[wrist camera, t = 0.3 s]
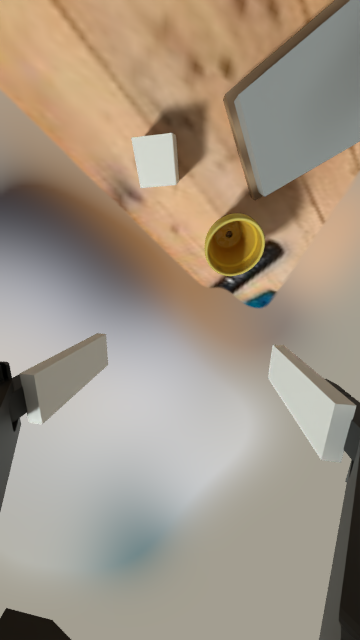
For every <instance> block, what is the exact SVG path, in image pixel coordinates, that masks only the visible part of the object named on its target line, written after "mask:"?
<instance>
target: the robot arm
mask: <svg viewBox="0 0 360 640" xmlns="http://www.w3.org/2000/svg"><path fill="white" fill-rule="evenodd" d="M107 359H108V357H107V345H106V334H98V333H97V334H95V335H93V336H91V337H89V338H87V339H86V340H84V341H82V342H80V343H78V344H76V345H74V346H72V347H70V348H68V349H66V350H64V351H62V352H61V353H59V354H57V355H55V356H53V357H51V358H49V359H47V360H45V361H43V362H41V363H39V364H37V365H35V366H34V367H31V368H30V369H28V370H26V371H24V372H22V373H20V374H19V375H17V376H15V377H13V378H12V376H11V371H10V366H9V363H8V362H0V510H1V506H2V502H3V498H4V494H5V489H6V485H7V481H8V477H9V472H10V468H11V464H12V460H13V455H14V452H15V447H16V443H17V439H18V434H19V431H20V426H21V422H20V417H21V416H23V415H24V414H25V413H27V416H28V421H29V423H37V424H43V423H44V422H45V421H46V420H48V419H49V418H50V417H51V416H52V415H53V414H54V413H55V412H56V411H57V410H58V409H60V408H61V407H62V406H63V405H64V404H65V403H66V402H67V401H69V400H70V399H71V398H72V397H73V396H74V395H75V394H76V393H77V392H78V391H79V390H80V389H82V388H83V387H84V386H85V385H86V384H87V383H88V382H89V381H91V380H92V379H93V378H94V377H95V376H96V375H97V374H98V373H99V372H100V371H102V370H103V369H104V368H105V367H106V366H107V365H108V360H107ZM268 379H269V381H270V382H271V384H272V385H273V387H274V388H275V390H276V391H277V393H278V394H279V396H280V397H281V399H282V401H283V402H284V404H285V405H286V407H287V408H288V410H289V411H290V413H291V414H292V416H293V417H294V419H295V420H296V422H297V424H298V425H299V427H300V428H301V430H302V431H303V433H304V434H305V436H306V437H307V439H308V441H309V442H310V444H311V445H312V446H313V448H314V450H315V451H316V453H317V454H318V456H319V457H320V459H321V460H326V461H333V462H341V460H342V456H343V453H344V451H345V452H346V453H347V454H348V455H349V457H350V458H351V459H352V461H351V464H350V467H349V471H348V475H347V478H346V482H347V485H346V491H345V497H344V502H343V508H342V513H341V519H340V525H339V530H338V536H337V542H336V547H335V553H334V558H333V564H332V570H331V576H330V581H329V587H328V592H327V598H326V604H325V610H324V615H323V621H322V626H321V632H320V638H319V640H360V402H358V401H357V400H356V399H355V398H353V397H351V395H350V394H348V393H347V392H345V390H343V389H342V388H341V387H340V386H338V385H337V384H335V383H333V382H331V381H329V380H327V379H324V378H322V377H321V376H320V375H319V374H318V373H316V372H315V371H314V370H313V369H312V368H310V367H309V366H308V365H307V364H306V363H304V362H303V361H302V360H301V359H300V358H298V357H297V356H296V355H295V354H293V353H292V352H291V351H290V350H289V349H287V348H286V347H285V346H284V345H273V347H272V354H271V361H270V367H269V374H268ZM0 640H71V639H70V638H69V637H68V636H67V635H66V634H65V633H64V632H63V631H62V630H61V629H60V628H59V627H58V626H57V625H56V624H55V623H54V622H53V620H50V619H46V618H42V617H38V616H34V615H31V614H27V613H23V612H19V611H15V610H11V609H8V608H6V609H5V611H4V613H3V615H2V616H1V618H0Z"/></svg>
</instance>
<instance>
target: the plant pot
mask: <svg viewBox="0 0 360 640" xmlns="http://www.w3.org/2000/svg"><path fill="white" fill-rule="evenodd" d="M228 231H231V232H232V235H231V236H230V237H227V236H226V233H227V232H228ZM264 247H265V236H264V233H263V230H262V229H261V227H260V226H259V224H258V223H257V222H256V221H255V220H254V219H252V218H251V217H250V216H248V215H245V214H241V213H233V214H229V215H226V216H224V217H222V218H220V219H219V220H217V221H216V222H215V223H214V224H213V225H212V227H211V228H210V230H209V231H208V233H207V236H206V240H205V256H206V259H207V262H208V264H209V265H210V267H211V268H212V269H213V270H214V271H216V272H217V273H219V274H222V275H226V276H235V275H240V274H242V273H245V272H247V271H248V270H250V269H251V268H252V267H254V266H255V265H256V264H257V262H258V261H259V260H260V258H261V256H262V254H263V251H264Z"/></svg>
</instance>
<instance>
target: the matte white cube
mask: <svg viewBox="0 0 360 640" xmlns="http://www.w3.org/2000/svg"><path fill="white" fill-rule="evenodd" d="M131 139H132V144H133V149H134V155H135V160H136V166H137V171H138V176H139V182H140V187H141V188H147V187H158V186H169V185H176V184H177V183H178V182H179V171H178V156H177V141H176V135H174V134H173V133H166V134H158V135H150V136H142V137H134V138H131Z"/></svg>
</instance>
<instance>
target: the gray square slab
mask: <svg viewBox="0 0 360 640" xmlns="http://www.w3.org/2000/svg"><path fill="white" fill-rule="evenodd" d="M234 103H235V107H236V111H237V114H238V118H239V122H240V126H241V129H242V133H243V137H244V140H245V144H246V148H247V151H248V155H249V159H250V162H251V166H252V170H253V174H254V177H255V181H256V185H257V188H258V192H259V193H260V194H261V195H263V196H264V197H265V196H267V195H269V194H270V193H272V192H274V191H275V190H277V189H279V188H281V187H282V186H284V185H286V184H287V183H289V182H291V181H293V180H294V179H296V178H298V177H299V176H301V175H303V174H305V173H306V172H308V171H310V170H311V169H313V168H315V167H317V166H318V165H320V164H322V163H323V162H325V161H327V160H329V159H330V158H332V157H334V156H335V155H337V154H339V153H341V152H342V151H344V150H346V149H347V148H349V147H351V146H353V145H354V144H356V143H358V142H359V141H360V0H350V1H349V2H348V3H346V4H345V5H344V6H343V7H342V8H341V9H339V10H338V11H337V12H336V13H335V14H333V15H332V16H331V17H330V18H329V19H328V20H326V21H325V22H324V23H323V24H322V25H320V26H319V27H318V28H317V29H316V30H315V31H313V32H312V33H311V34H310V35H309V36H307V37H306V38H305V39H304V40H303V41H302V42H300V43H299V44H298V45H297V46H296V47H294V48H293V49H292V50H291V51H290V52H289V53H287V54H286V55H285V56H284V57H283V58H281V59H280V60H279V61H278V62H277V63H276V64H274V65H273V66H272V67H271V68H270V69H268V70H267V71H266V72H265V73H264V74H263V75H261V76H260V77H259V78H258V79H257V80H255V81H254V82H253V83H252V84H251V85H249V86H248V87H247V88H246V89H245V90H244V91H242V92H241V93H240V94H239V95H238V96H237V98H236V99H235V101H234Z"/></svg>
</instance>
